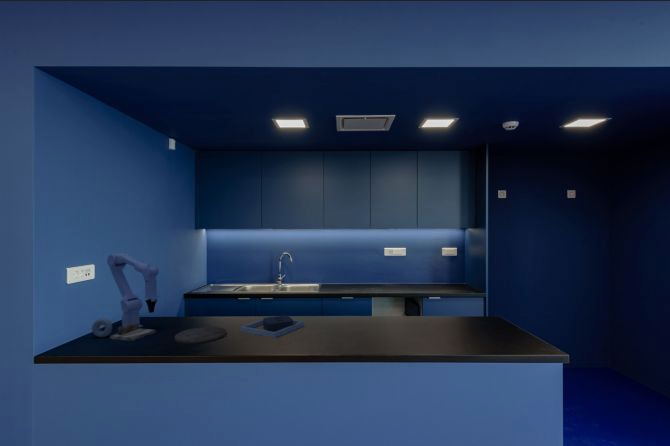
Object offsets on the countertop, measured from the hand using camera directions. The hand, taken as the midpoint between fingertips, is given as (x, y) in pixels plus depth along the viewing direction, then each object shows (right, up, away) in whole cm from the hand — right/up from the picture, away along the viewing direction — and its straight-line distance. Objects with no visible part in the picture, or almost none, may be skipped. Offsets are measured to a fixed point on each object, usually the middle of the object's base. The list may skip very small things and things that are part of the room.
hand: (151, 312), depth 210 cm
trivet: (+34, -9, -16) cm, 38 cm away
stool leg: (-8, -8, -10) cm, 15 cm away
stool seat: (-4, -9, -12) cm, 16 cm away
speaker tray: (+69, -8, -5) cm, 69 cm away
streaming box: (+72, -8, -5) cm, 72 cm away
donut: (-19, -10, -13) cm, 25 cm away
